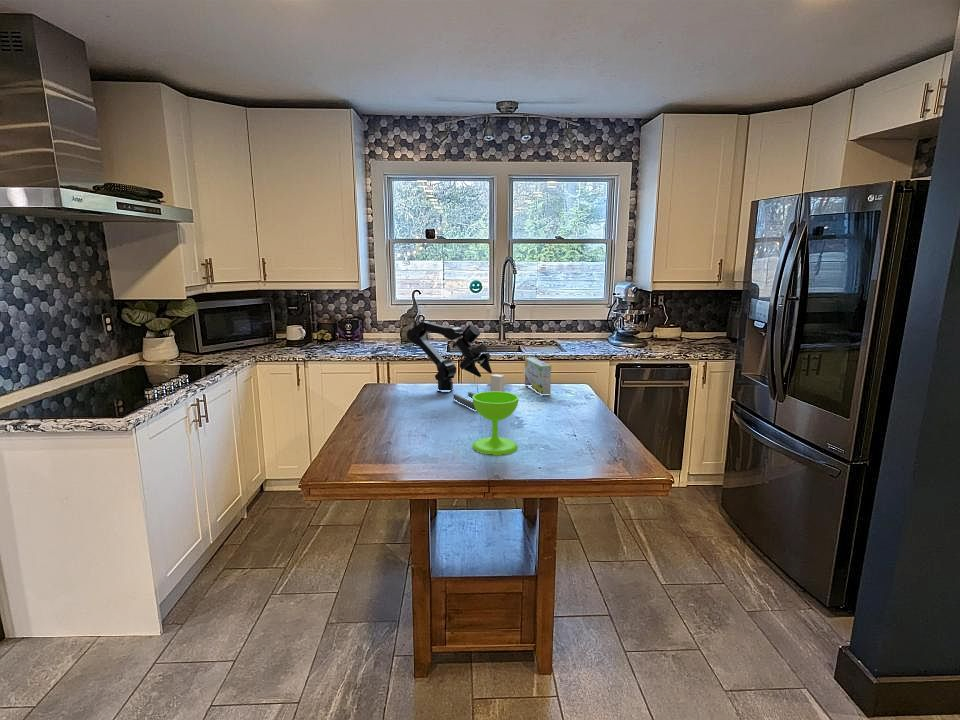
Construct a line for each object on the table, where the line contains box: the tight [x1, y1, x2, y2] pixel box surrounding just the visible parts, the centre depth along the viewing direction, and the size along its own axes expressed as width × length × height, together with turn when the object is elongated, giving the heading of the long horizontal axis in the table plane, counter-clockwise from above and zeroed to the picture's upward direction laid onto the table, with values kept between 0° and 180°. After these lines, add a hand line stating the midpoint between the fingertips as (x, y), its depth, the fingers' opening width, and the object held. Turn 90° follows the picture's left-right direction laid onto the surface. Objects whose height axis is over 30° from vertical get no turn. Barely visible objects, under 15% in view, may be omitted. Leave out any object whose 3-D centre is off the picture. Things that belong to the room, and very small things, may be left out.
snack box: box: [524, 356, 552, 395], centre depth 259 cm, size 21×6×15 cm, turn 17°
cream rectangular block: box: [490, 373, 505, 392], centre depth 241 cm, size 5×4×12 cm
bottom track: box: [453, 391, 476, 410], centre depth 235 cm, size 20×9×3 cm, turn 30°
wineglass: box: [471, 390, 520, 456], centre depth 181 cm, size 16×16×18 cm
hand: (485, 374), depth 243 cm, fingers open, 9 cm apart
